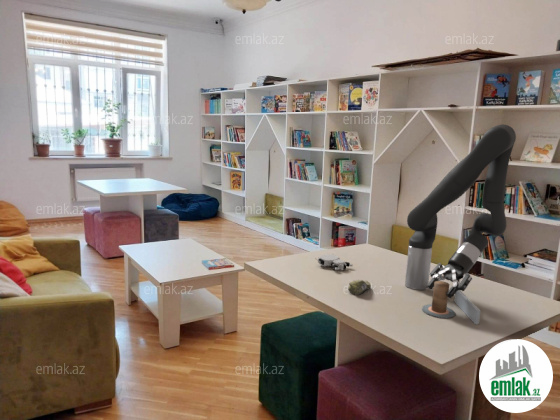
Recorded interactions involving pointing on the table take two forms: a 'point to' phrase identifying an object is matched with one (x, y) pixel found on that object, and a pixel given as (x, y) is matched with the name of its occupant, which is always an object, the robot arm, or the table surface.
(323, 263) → the robot toy
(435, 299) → the walnut pin
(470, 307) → the acrylic wall
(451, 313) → the mat
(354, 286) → the rock
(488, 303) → the table surface
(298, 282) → the table surface
